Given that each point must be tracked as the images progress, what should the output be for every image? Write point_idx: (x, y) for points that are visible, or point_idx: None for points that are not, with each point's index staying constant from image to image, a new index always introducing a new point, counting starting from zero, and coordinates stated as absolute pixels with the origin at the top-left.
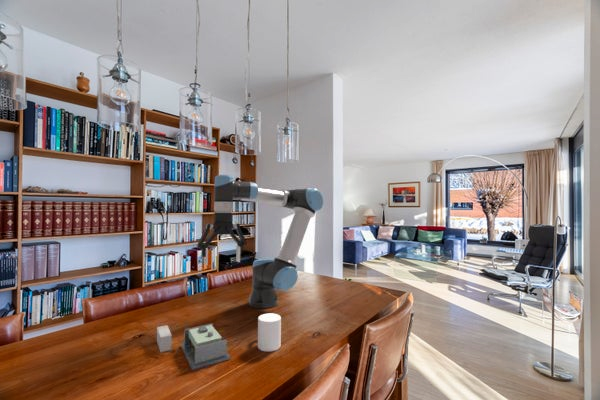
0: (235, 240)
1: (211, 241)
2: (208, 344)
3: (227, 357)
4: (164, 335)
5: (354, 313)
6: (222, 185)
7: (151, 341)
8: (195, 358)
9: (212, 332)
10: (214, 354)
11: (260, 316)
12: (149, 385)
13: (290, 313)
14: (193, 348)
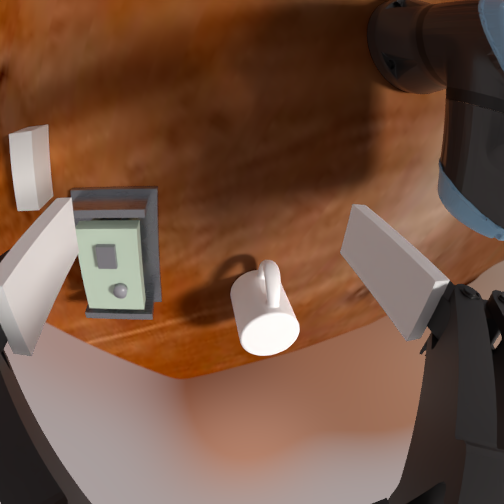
0: (428, 388)
1: (47, 440)
2: (112, 316)
3: (155, 301)
4: (24, 202)
5: (472, 254)
6: None
7: (17, 125)
8: None
9: (124, 295)
10: None
11: (254, 324)
12: None
13: (412, 167)
14: None
